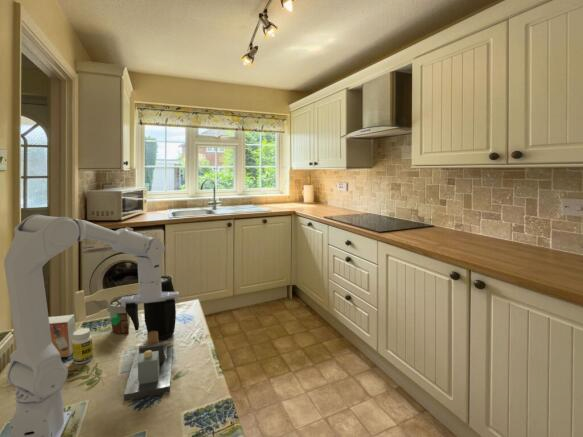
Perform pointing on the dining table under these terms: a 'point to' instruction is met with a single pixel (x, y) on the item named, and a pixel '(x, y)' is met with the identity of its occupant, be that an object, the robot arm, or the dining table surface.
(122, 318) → the food container
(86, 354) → the supplement bottle
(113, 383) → the dining table surface
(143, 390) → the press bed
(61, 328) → the small box
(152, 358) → the block
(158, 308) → the portable speaker
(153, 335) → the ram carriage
